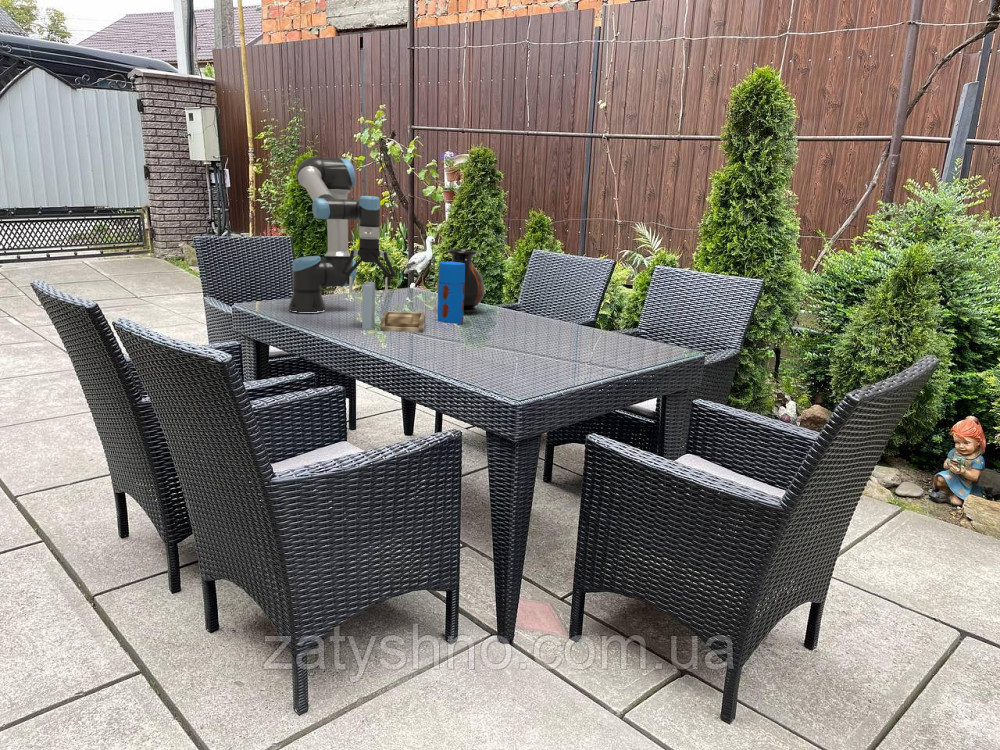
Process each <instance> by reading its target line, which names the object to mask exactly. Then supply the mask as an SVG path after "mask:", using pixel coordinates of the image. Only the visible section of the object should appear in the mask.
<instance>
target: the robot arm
mask: <svg viewBox="0 0 1000 750" xmlns="http://www.w3.org/2000/svg"><path fill="white" fill-rule="evenodd" d="M355 173H356V172H355V169H354V166H353V163H352V162H351V160H350V159H348V158H341V157H328V156H327V157H326V156H325V157H322V156H311V157H308V158H305V159H304V160H303V161H301V162H300V163H299V165H298V167H297V169H296V173H295V174H296V179H297V181H298V183H299V184H300V186H301V187H302V188H304V189H305V190H306V191H307V194H308V195H309V197H310V198H311V200H312V206H311V207H312V215H313V216H314V218H316V219H320V220H321V219H322V220H326V221H327V224H326V226H327V252H326V253H325V254H324V259H322V258H321V256H320V255H313V256H312V255H309V256H300V257H298V258H295V259H293V261H292V269H291V270H292V295H291V299H290V302H289V306H288V311H289V310H291V311H297V312H317V311H323V310H325V311H326V305H325V302H324V298H323V297H322V290H321V289H322V288H323V287H324V288H325V287H327V288H328V287H330V288H332V287H341V288H343V287H349V292H348V293H349V294H352V293H353V284H354V283H355V281H356V276H357V269H358V268H357V267H359V265H360V264H361V263H362V262H363V263H366V264H367V263H370V264H374V263H375V264H376V265H377V266H378V268H380V270H381V271H382V272H383V274H385V276H386V277H385V279H384V280H385V282H384V295H385V296H388V292H389V291H388V290H389V287H391V284H392V283H391V282H392V278H393V277H395V276H396V275H397V273H396V272H395V270H394V268H393V265H392V264H391V261H390V259H389V256H388V255H389V254H388V251H387V250H385V251H380V239H379V238H380V229H381V228H380V225H381V224H380V222H381V221H380V220H381V219H380V218H381V217H380V216H381V214H380V213H381V210H380V209H381V201H380V200H381V199H380V197H378V196H375V195H374V196H373V195H361V196H360V197H359V199H358V198H357V199H348V195H349V194H350V193H351V189H352V188H353V187H354V186H355V185H356V174H355ZM348 220H352V221H359V223H358V224H359V225H358V227H359V228H358V229H359V230H358V232H359V233H358V234H359V235H358V236H359V237H360V238H359V239H358V241H359V243H358V250H355V249H351V250H350V252H349V227H348V226H349V225H348V222H349V221H348ZM357 255H358V257H359V259H358V260H357V261H356V260H355V259H354V257H355V256H357ZM380 256H381V257H382V258H383V259H384V261H385V263H386V266H387V268H386V267H385V266H384V264H383V263H382V261H380V259H379V257H380ZM388 270H389V271H388Z"/></svg>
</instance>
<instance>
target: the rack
mask: <svg viewBox="0 0 1000 750" xmlns="http://www.w3.org/2000/svg"><path fill="white" fill-rule="evenodd" d="M389 314H406V315H413V320H412V322H419V328H415V327H391V326H387V321H388V315H389ZM425 326H426V312H416V311H415V312H412V311H407V312H406V311H391V310H390V311H388V310H385V311H384V313H382V315H381V317H380V331H382V332H404V333H424V329H425Z"/></svg>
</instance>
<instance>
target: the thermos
mask: <svg viewBox="0 0 1000 750" xmlns="http://www.w3.org/2000/svg"><path fill="white" fill-rule="evenodd" d="M437 280H438V281H439V282H438V281H437V285H438V293H437V321H438V322H440V323H445V324H457V326H461V325H463V323H464V315H465V314H464V289H465V263H460V262H452V261H441V262H439V265H438V279H437Z"/></svg>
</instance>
